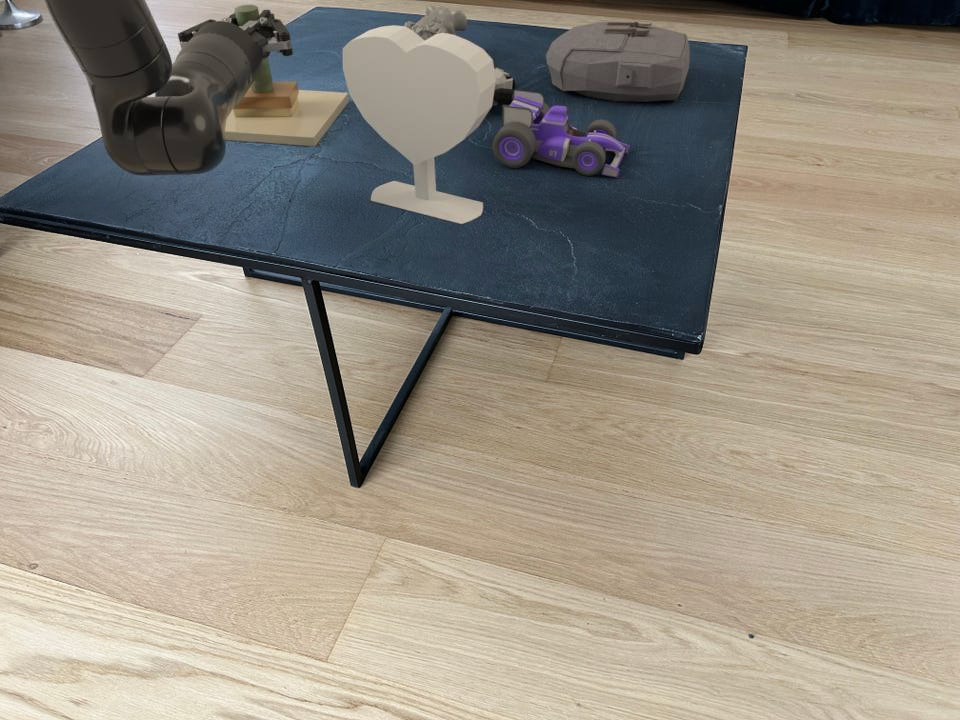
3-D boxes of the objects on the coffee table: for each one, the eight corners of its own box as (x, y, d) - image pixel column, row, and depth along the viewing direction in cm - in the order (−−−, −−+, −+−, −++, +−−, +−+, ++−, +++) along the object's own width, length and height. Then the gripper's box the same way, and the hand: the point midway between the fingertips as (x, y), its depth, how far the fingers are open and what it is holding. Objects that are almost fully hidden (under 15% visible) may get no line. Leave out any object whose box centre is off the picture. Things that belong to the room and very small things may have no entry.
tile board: (168, 135, 97) (165, 127, 96) (215, 92, 107) (213, 84, 107) (315, 146, 94) (313, 137, 94) (349, 101, 105) (348, 92, 104)
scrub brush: (232, 117, 98) (207, 15, 90) (242, 102, 102) (218, 2, 93) (293, 117, 98) (274, 14, 89) (300, 101, 102) (282, 1, 93)
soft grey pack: (687, 71, 111) (553, 60, 115) (697, 11, 105) (556, 2, 109) (682, 113, 100) (535, 100, 104) (693, 49, 94) (537, 38, 98)
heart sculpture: (498, 206, 83) (499, 38, 71) (478, 228, 80) (475, 56, 68) (379, 177, 88) (361, 16, 76) (355, 196, 85) (332, 31, 73)
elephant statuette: (395, 73, 112) (390, 19, 107) (422, 46, 120) (419, -6, 115) (454, 80, 110) (452, 25, 104) (477, 51, 118) (477, -1, 113)
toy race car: (615, 184, 86) (621, 130, 82) (491, 165, 90) (491, 113, 86) (631, 148, 93) (638, 96, 88) (515, 132, 97) (516, 81, 92)
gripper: (273, 33, 79) (305, -15, 92) (142, 34, 80) (192, -14, 93) (286, 102, 84) (315, 47, 97) (163, 103, 85) (208, 48, 98)
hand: (255, 18), depth 95 cm, fingers closed on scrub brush, 3 cm apart
